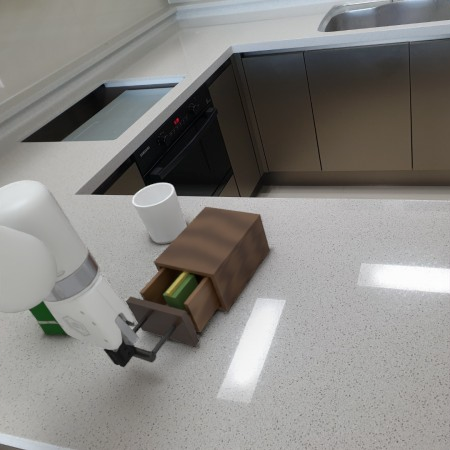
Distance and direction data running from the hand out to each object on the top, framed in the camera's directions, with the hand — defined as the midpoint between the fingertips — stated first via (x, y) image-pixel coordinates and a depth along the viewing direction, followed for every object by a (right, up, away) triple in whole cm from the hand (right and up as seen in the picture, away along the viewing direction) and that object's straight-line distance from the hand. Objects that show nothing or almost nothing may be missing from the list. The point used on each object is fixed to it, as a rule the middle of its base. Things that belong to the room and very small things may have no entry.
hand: (126, 357), depth 68 cm
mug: (-4, +18, +35) cm, 39 cm away
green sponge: (+6, +6, +12) cm, 14 cm away
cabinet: (+11, +10, +20) cm, 25 cm away
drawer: (+6, +4, +11) cm, 13 cm away
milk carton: (-16, +2, +17) cm, 23 cm away
